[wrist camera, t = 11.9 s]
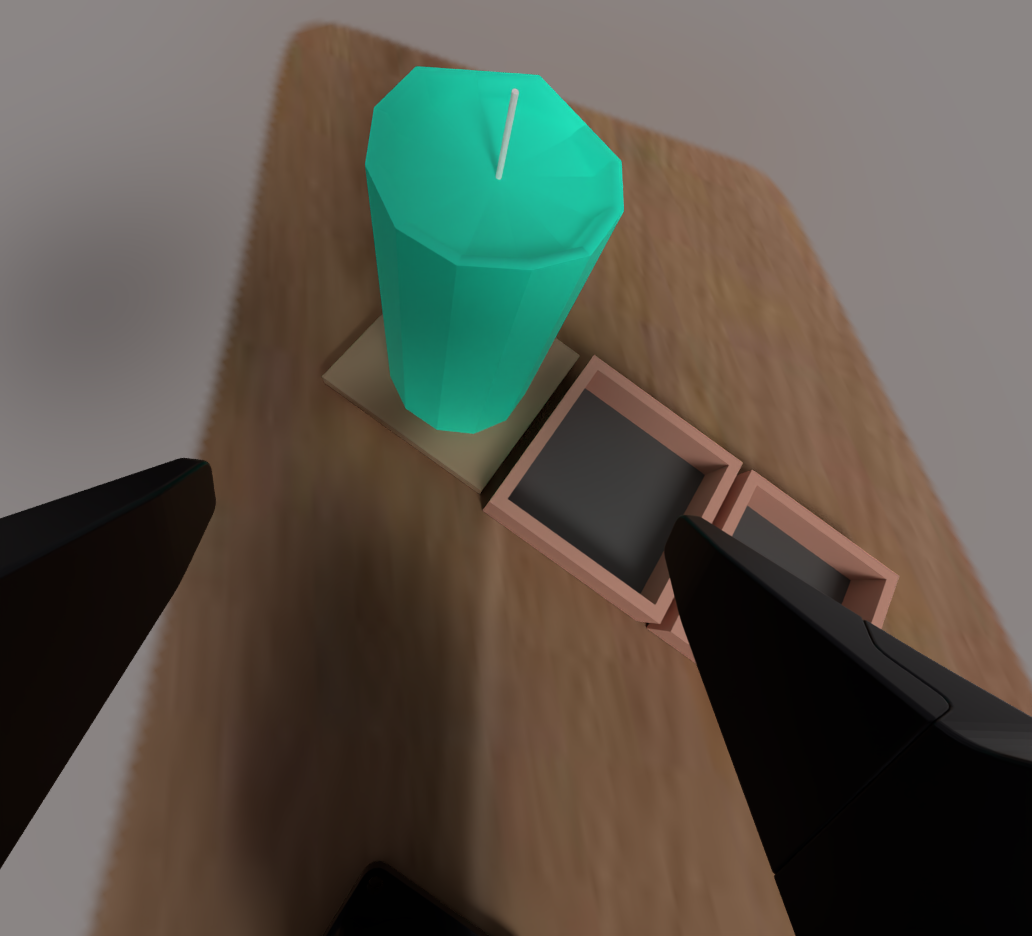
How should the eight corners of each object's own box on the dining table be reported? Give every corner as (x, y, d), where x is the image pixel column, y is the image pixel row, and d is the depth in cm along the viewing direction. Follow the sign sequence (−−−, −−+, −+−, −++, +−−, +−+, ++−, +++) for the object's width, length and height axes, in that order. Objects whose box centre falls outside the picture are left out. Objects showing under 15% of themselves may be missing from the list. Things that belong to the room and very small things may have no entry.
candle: (541, 424, 21) (693, 217, 9) (401, 443, 19) (380, 226, 8) (512, 303, 22) (616, -9, 11) (379, 313, 21) (334, -37, 9)
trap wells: (482, 510, 20) (489, 501, 18) (579, 375, 22) (594, 354, 20) (799, 737, 20) (838, 752, 18) (859, 577, 23) (899, 576, 21)
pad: (324, 382, 20) (321, 376, 19) (439, 262, 22) (439, 253, 22) (479, 494, 20) (481, 491, 19) (575, 361, 23) (580, 355, 22)
